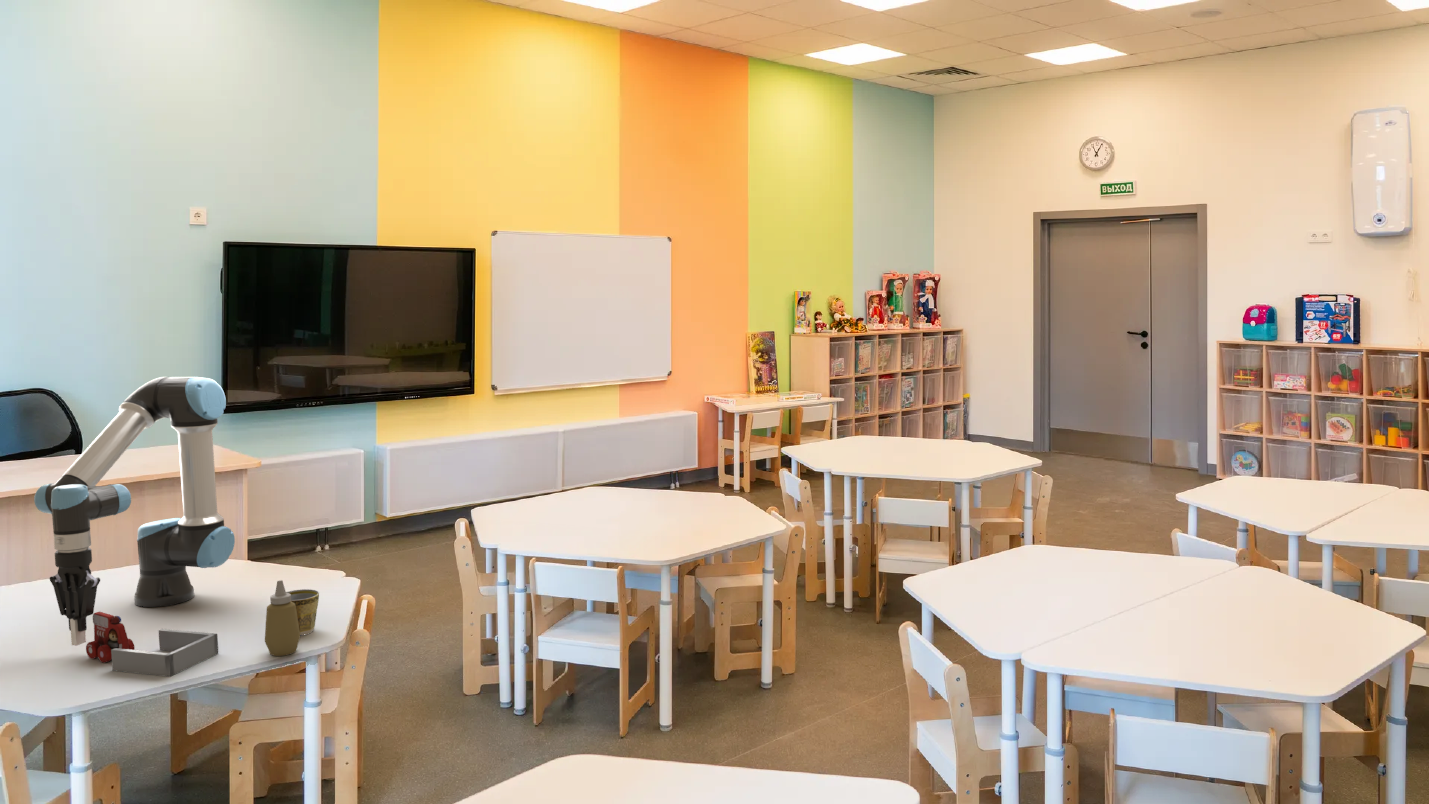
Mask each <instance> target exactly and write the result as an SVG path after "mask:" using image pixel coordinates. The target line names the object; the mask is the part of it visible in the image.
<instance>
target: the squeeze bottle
mask: <svg viewBox="0 0 1429 804" xmlns="http://www.w3.org/2000/svg"><path fill="white" fill-rule="evenodd" d="M284 585H285V584H284V582H283V580H282V579H280V580H277V581H276V585H275V586H276V587H275V590H274V591H275V592H274V594H272V595H270V604H268V605H267V606H266V614H265V628H264V629H265V632H264V633H265V634H264V643H265V645H266V647H267V648H266V649H268V652H269V654H270V655H271V656H274V657H275V656H276V657H282V656H288V655H291V654H292V655H293V654H294V653H296V652H297V648H298V646H299V642H300V639H301V636H300V631H299V624H298V618H297V612H296V605H295V603H293V602H291V594H289V593H286V592H287V591H286V588H285V586H284Z"/></svg>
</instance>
